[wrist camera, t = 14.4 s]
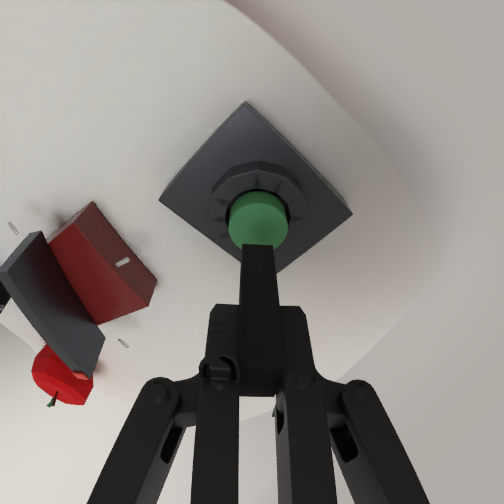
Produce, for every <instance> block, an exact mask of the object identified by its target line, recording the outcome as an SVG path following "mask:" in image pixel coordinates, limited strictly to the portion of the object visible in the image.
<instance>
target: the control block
mask: <svg viewBox="0 0 504 504" xmlns="http://www.w3.org/2000/svg"><path fill="white" fill-rule="evenodd" d="M253 191H263V192H267V193H270V194H272V195H274V196H275V197H277V198H278V199H279V200H280V201H281V203H282V204H283V206H284V209H285V214H286V219H287V224H288V232H287V235H286V238H285V239H284V241H283V242H282V243H281V244H280V245H279V246H278V247H277V248H275V249H274V258H275V267H276V274H277V273H278V272H280V271H281V270H282V269H284V268H285V267H286V266H288V265H289V264H290V263H292V262H293V261H294V260H295V259H297V258H298V257H299V256H301V255H302V254H303V253H305V252H306V251H307V250H308V249H310V248H311V247H312V246H314V245H315V244H316V243H318V242H319V241H320V240H321V239H323V238H324V237H325V236H327V235H328V234H329V233H330V232H332V231H333V230H334V229H335V228H337V227H338V226H339V225H341V224H342V223H343V222H344V221H346V220H347V219H348V218H349V217H351V216H352V215H353V214H352V212H351V210H350V209H349V207H348V205H347V204H346V202H345V201H344V199H343V198H342V197H341V196H340V195H339V194H338V193H337V192H336V190H335V189H334V188H333V187H332V186H331V185H330V184H329V183H328V182H327V181H326V179H325V178H324V177H323V176H322V175H321V174H320V173H319V172H318V171H317V170H316V169H315V168H314V167H313V166H312V165H311V164H310V162H309V161H308V160H307V159H306V158H305V157H304V156H303V155H302V154H301V153H300V152H299V151H298V150H297V149H296V148H295V147H294V146H293V145H292V144H291V143H290V142H289V141H288V140H287V139H286V138H285V137H284V136H283V135H282V134H281V133H279V132H278V131H277V130H276V129H275V128H274V127H273V126H272V125H271V124H270V123H269V122H268V121H267V120H266V119H265V118H264V117H262V116H261V115H260V114H259V113H258V112H257V111H256V110H255V109H254V108H253V107H251V106H250V105H249V104H248V103H247V102H246V101H245V102H243V103H242V104H241V105H240V106H239V107H238V108H237V109H236V110H235V111H234V112H233V113H232V114H231V115H230V117H229V118H228V119H227V120H226V121H225V122H224V123H223V124H222V125H221V126H220V127H219V128H218V129H217V130H216V131H215V132H214V133H213V134H212V135H211V136H210V138H209V139H208V140H207V141H206V142H205V143H204V144H203V145H202V146H201V147H200V148H199V150H198V151H197V152H196V153H195V154H194V155H193V156H192V157H191V159H190V160H189V161H188V162H187V163H186V164H185V165H184V167H183V168H182V169H181V170H180V171H179V172H178V174H177V175H176V176H175V177H174V178H173V180H172V181H171V182H170V183H169V184H168V186H167V187H166V188H165V190H164V191H163V193H162V195H161V196H160V198H159V201H160V202H161V203H162V204H164V205H165V206H166V207H168V208H169V209H170V210H172V211H173V212H174V213H176V214H177V215H178V216H180V217H181V218H182V219H184V220H185V221H186V222H188V223H189V224H190V225H191V226H193V227H194V228H195V229H197V230H198V231H199V232H201V233H202V234H203V235H205V236H206V237H207V238H209V239H210V240H211V241H213V242H214V243H216V244H217V245H218V246H220V247H221V248H222V249H224V250H225V251H226V252H228V253H229V254H230V255H232V256H233V257H234V258H236V259H237V260H238V261H240V262H241V255H242V249H241V248H239V247H238V246H237V245H235V243H234V242H233V241H232V239H231V237H230V235H229V230H228V226H229V218H230V211H231V208H232V206H233V204H234V202H235V201H236V200H237V199H238V198H239V197H241V196H242V195H244V194H246V193H249V192H253Z"/></svg>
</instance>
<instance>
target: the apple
mask: <svg viewBox="0 0 504 504" xmlns="http://www.w3.org/2000/svg"><path fill="white" fill-rule="evenodd" d="M32 376H33V379H34V381H35V383H36V384H37V386H38V387H40V388H41V389H42V390H44V391H45V392H46V393H48V394H49V395H50V396H52V397H53V398H52V400H51V402H50V403H49V404H48V405H47V406H48V407H51V406H55V402H56V399H58V400H60V401H62V402H64V403H66V404H74V405H84V404H85V402H86V400H87V398H88V396H89V394H90V392H91V390H92V388H93V374H92V377H91V379H88V380H84V379H78V378H77V377H76V376H75V375H74V374H73V371H72V370H71V369H70V368H69V367H68V366H67V365H66V364H65V363H64V362H63V361H62V360H61V359H60V358H59V357H58V355H57V354H56V353H55V352H54V351H53V350H52V349H51V348H50V346H49V345H48V344H46V345H45V346H44V348H43V349H42V350H41V351H40V352H39V353H38V355H37V356H36V357H35V360H34V363H33V367H32Z"/></svg>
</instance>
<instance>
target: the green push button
mask: <svg viewBox="0 0 504 504" xmlns="http://www.w3.org/2000/svg"><path fill="white" fill-rule="evenodd" d="M228 230H229V235H230V237H231V239H232V241H233V242H234V243H235V245H237V246H238V247H239V248H241V249H242V244H260V245H273V250H274V249H275V248H277V247H278V246H279V245H280V244H281V243H282V242H283V241H284V239H285V238H286V235H287V232H288V224H287V219H286V214H285V209H284V206H283V204H282V203H281V201H280V200H279V199H278V198H277V197H275V196H274V195H272V194H270V193H267V192H263V191H253V192H249V193H246V194H244V195H242V196H241V197H239V198H238V199H237V200H236V201H235V202H234V204H233V206H232V208H231V211H230V218H229V226H228Z"/></svg>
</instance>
